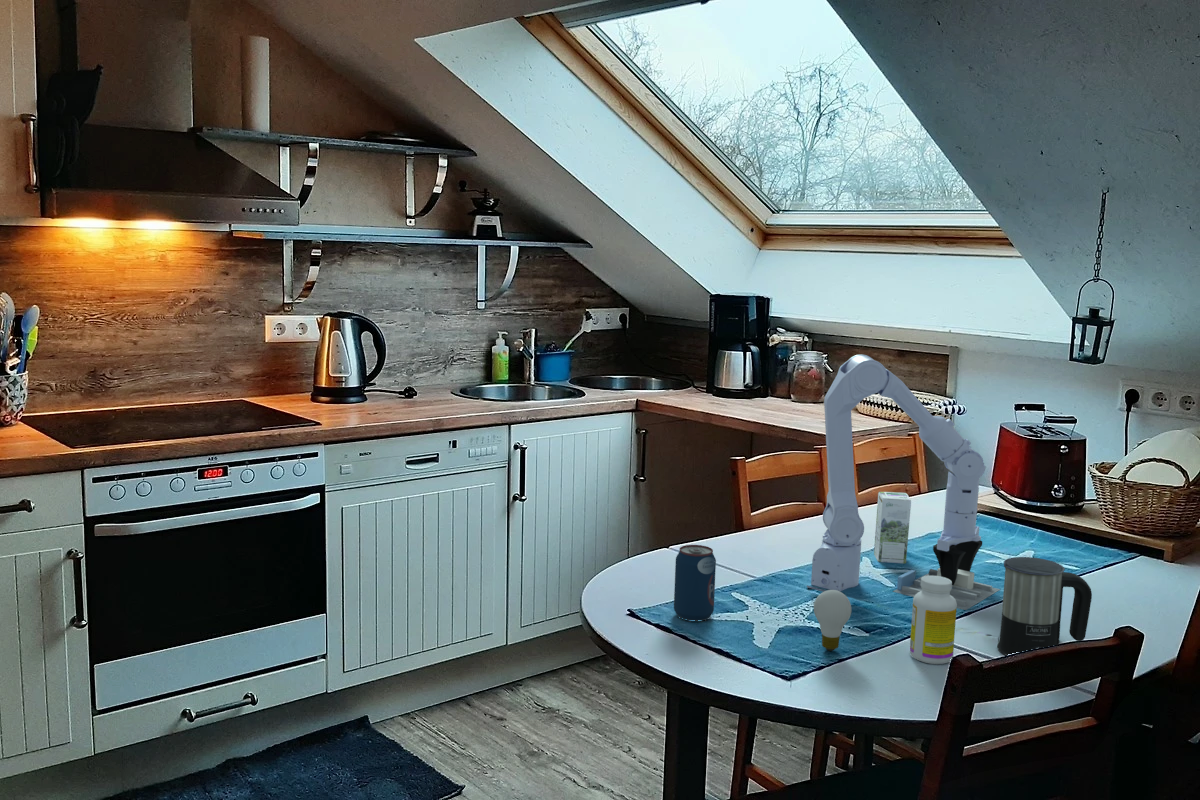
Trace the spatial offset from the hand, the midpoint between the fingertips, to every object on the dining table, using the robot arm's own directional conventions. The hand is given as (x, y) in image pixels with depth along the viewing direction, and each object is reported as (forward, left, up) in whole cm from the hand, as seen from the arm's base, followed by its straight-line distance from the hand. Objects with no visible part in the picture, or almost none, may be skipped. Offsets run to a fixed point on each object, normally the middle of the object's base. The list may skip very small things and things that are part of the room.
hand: (955, 579), depth 204 cm
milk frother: (-17, -20, -2) cm, 26 cm away
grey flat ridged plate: (-4, 0, -2) cm, 4 cm away
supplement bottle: (-34, -11, -2) cm, 36 cm away
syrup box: (+8, +17, -2) cm, 19 cm away
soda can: (-46, +27, -2) cm, 54 cm away
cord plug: (0, 0, -1) cm, 1 cm away
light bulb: (-44, +2, -2) cm, 44 cm away
